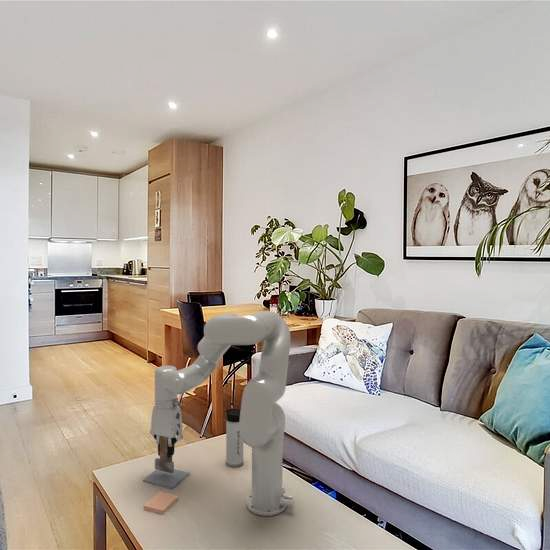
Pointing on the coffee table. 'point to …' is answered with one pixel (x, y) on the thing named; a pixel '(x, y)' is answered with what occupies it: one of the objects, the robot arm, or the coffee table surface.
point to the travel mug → (233, 439)
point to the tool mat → (166, 478)
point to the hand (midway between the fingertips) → (166, 454)
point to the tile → (160, 503)
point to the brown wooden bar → (164, 457)
